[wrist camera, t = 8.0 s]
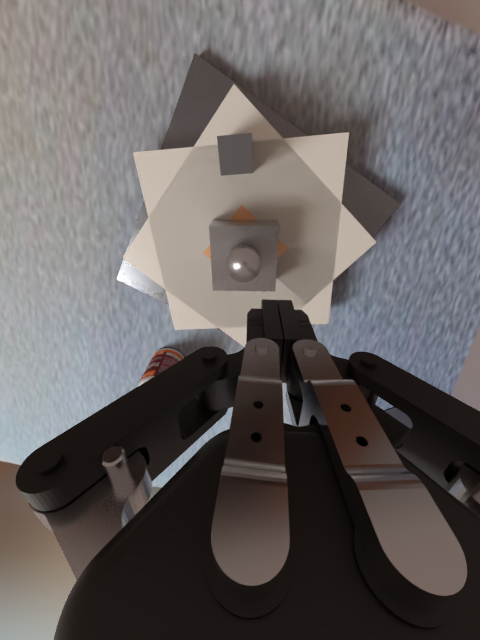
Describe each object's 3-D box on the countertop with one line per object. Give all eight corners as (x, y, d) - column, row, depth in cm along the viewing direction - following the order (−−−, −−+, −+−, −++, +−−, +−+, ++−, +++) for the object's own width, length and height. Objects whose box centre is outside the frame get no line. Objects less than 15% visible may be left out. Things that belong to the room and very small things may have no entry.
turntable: (352, 341, 33) (371, 373, 28) (155, 348, 35) (139, 379, 30) (398, 71, 21) (447, 39, 15) (85, 105, 22) (35, 87, 17)
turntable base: (395, 202, 27) (400, 203, 26) (274, 352, 37) (274, 357, 36) (197, 57, 22) (194, 53, 21) (120, 276, 32) (116, 279, 31)
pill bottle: (161, 341, 36) (139, 385, 29) (192, 357, 38) (177, 403, 30) (147, 363, 39) (123, 409, 31) (177, 377, 40) (160, 425, 33)
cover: (277, 219, 25) (281, 229, 21) (273, 279, 28) (276, 298, 24) (213, 219, 25) (206, 229, 21) (216, 279, 28) (210, 297, 24)
